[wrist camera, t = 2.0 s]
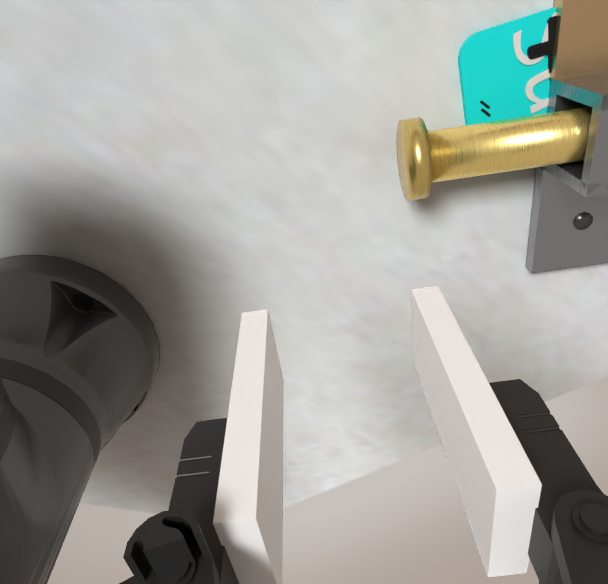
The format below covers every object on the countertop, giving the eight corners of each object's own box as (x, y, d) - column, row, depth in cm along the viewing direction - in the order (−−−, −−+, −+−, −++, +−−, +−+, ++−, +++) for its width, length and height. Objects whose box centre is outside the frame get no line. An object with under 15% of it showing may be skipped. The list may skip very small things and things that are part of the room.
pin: (398, 185, 30) (414, 212, 27) (395, 112, 28) (411, 130, 24) (728, 136, 29) (793, 157, 26) (752, 57, 27) (827, 67, 23)
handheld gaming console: (459, 40, 27) (752, -55, 25) (453, 38, 27) (736, -53, 26) (475, 183, 31) (726, 110, 29) (470, 177, 32) (713, 107, 30)
